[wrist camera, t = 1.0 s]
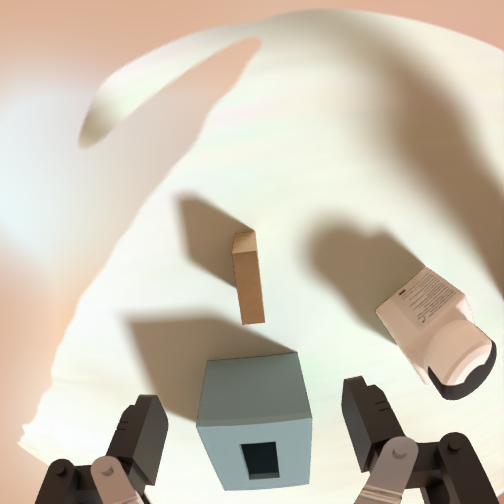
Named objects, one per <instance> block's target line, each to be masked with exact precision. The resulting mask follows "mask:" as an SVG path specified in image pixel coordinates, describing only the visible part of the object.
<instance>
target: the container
mask: <svg viewBox="0 0 504 504" xmlns="http://www.w3.org/2000/svg"><path fill="white" fill-rule="evenodd" d="M376 314H377V315H378V317H379V318H380V320H381V321H382V322H383V324H384V325H385V327H386V328H387V330H388V331H389V333H390V334H391V336H392V337H393V339H394V340H395V342H396V343H397V345H398V346H399V348H400V349H401V351H402V352H403V353H404V355H405V356H406V358H407V359H408V361H409V362H410V363H411V365H412V366H413V368H414V369H415V371H416V372H417V374H418V375H419V377H420V378H421V379H422V381H423V382H424V384H425V385H429V384H430V383H432V382H433V384H434V385H435V387H436V388H437V390H438V391H439V393H440V394H441V395H442V397H443V398H444V399H446V400H458V399H461V398H463V397H465V396H467V395H469V394H470V393H472V392H473V391H474V390H475V389H477V388H478V387H479V386H480V385H481V384H482V383H483V381H484V380H485V379H486V378H487V376H488V375H489V373H490V372H491V370H492V368H493V366H494V363H495V360H496V345H495V343H494V342H493V341H492V340H491V339H490V338H489V337H488V336H487V335H486V334H485V333H483V332H482V331H481V330H480V329H479V328H478V327H477V326H476V325H475V322H474V319H473V316H472V313H471V310H470V307H469V304H468V301H467V298H466V296H465V294H464V293H462V292H461V291H460V290H458V289H457V288H456V287H454V286H453V285H452V284H450V283H449V282H447V281H446V280H445V279H443V278H442V277H441V276H439V275H438V274H436V273H435V272H434V271H432V270H431V269H429V268H428V267H425V268H424V269H423V270H421V271H420V272H419V273H418V274H417V275H416V276H415V277H414V278H412V279H411V280H410V281H409V282H408V283H407V284H406V285H404V286H403V287H402V288H401V289H400V290H398V291H397V292H396V293H395V294H394V295H392V296H391V297H390V298H389V299H388V300H386V301H385V302H384V303H383V304H381V305H380V306H379V307H378V308H377V309H376Z"/></svg>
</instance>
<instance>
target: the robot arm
mask: <svg viewBox="0 0 504 504" xmlns="http://www.w3.org/2000/svg"><path fill="white" fill-rule="evenodd" d="M341 405H342V413H343V417H344V420H345V423H346V426H347V429H348V432H349V435H350V438H351V441H352V444H353V447H354V450H355V454H356V457H357V460H358V463H359V466H360V469H361V473H363V472H367V471H369V472H370V476H369V478H368V480H367V482H366V484H365V486H364V488H363V489H362V490H361V492H360V494H359V496H358V497H357V499H356V501H355V503H354V504H400V503H401V500H402V494H403V492H404V489H412V488H420V490H421V493H422V497H423V500H424V503H425V504H499V502H498V499H497V497H496V495H495V493H494V490H493V488H492V486H491V484H490V481H489V479H488V477H487V475H486V473H485V471H484V469H483V467H482V465H481V463H480V461H479V459H478V457H477V455H476V453H475V451H474V449H473V447H472V445H471V443H470V441H469V439H468V438H467V437H466V436H465V435H464V434H462V433H458V432H452V433H448V434H446V435H445V436H443V437H442V438H441V440H440V441H439V442H430V443H417V442H415V441H414V440H412V439H411V438H408V437H406V436H405V434H404V432H403V430H402V428H401V426H400V424H399V422H398V420H397V418H396V416H395V414H394V412H393V410H392V409H391V406H390V404H389V402H388V401H387V398H386V396H385V394H384V392H383V391H382V390H381V389H380V388H378V387H377V386H376V385H375V384H374V385H370V386H367V385H366V383H365V381H364V379H363V377H362V376H357V377H353V378H348V379H344V383H343V393H342V403H341ZM119 422H120V423H118V426H117V430H116V431H115V433H114V436H113V438H112V441H111V443H110V446H109V448H108V451H107V453H106V455H105V456H103V457H100V458H98V459H96V460H95V461H94V462H93V464H92V465H84V466H74V465H73V464H72V463H71V462H70V461H69V460H67V459H58V460H55V461H54V462H52V463H51V465H50V466H49V468H48V471H47V474H46V476H45V478H44V481H43V483H42V486H41V488H40V491H39V494H38V496H37V499H36V502H35V504H152V502H151V501H150V499H149V497H148V496H147V494H146V492H145V491H144V490H145V486H146V485H153V486H155V481H156V477H157V473H158V468H159V464H160V460H161V456H162V452H163V447H164V443H165V439H166V435H167V431H168V418H167V416H166V413H165V411H164V409H163V407H162V405H161V402H160V400H159V398H158V396H157V395H139V396H138V399H137V401H136V404H135V405H130V406H129V407H128V408H127V409H126V410H125V411H124V412H123V414H122V416H121V418H120V421H119Z"/></svg>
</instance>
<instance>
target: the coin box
mask: <svg viewBox="0 0 504 504" xmlns="http://www.w3.org/2000/svg"><path fill="white" fill-rule="evenodd" d="M196 428H197V431H198V433H199V435H200V438H201V440H202V442H203V445H204V447H205V449H206V452H207V454H208V456H209V458H210V461H211V463H212V465H213V467H214V469H215V472H216V474H217V476H218V478H219V480H220V482H221V484H222V486H223V488H224V490H257V489H271V488H281V487H290V486H298V485H305V484H309V476H310V460H311V440H312V414H311V410H310V405H309V401H308V396H307V392H306V388H305V383H304V379H303V375H302V370H301V366H300V362H299V358H298V353H297V352H295V353H287V354H279V355H270V356H261V357H251V358H240V359H227V360H212V361H207V366H206V372H205V377H204V383H203V388H202V394H201V400H200V406H199V411H198V417H197V423H196Z"/></svg>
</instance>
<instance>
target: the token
mask: <svg viewBox="0 0 504 504" xmlns="http://www.w3.org/2000/svg"><path fill="white" fill-rule="evenodd" d="M232 258H233V265H234V272H235V279H236V286H237V292H238V299H239V306H240V312H241V319H242V325H245V324H255V323H265V317H264V307H263V296H262V286H261V278H260V269H259V260H258V251H257V243H256V234H255V231H250V232H241V233H235V239H234V244H233V250H232Z"/></svg>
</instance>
